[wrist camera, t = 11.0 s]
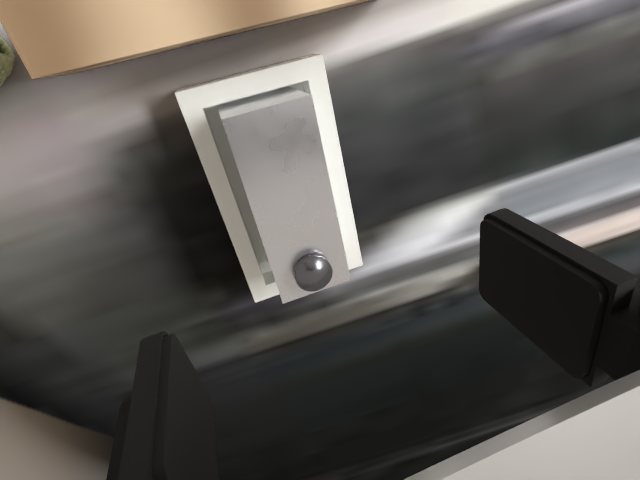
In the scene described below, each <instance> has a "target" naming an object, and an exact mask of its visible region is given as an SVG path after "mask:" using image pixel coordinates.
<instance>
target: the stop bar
mask: <svg viewBox="0 0 640 480" xmlns="http://www.w3.org/2000/svg"><path fill="white" fill-rule="evenodd" d="M217 107H218V110H219V114H220V117H221V120H222V123H223V126H224V129H225V132H226V135H227V138H228V141H229V144H230V147H231V150H232V153H233V156H234V159H235V162H236V165H237V168H238V171H239V174H240V177H241V180H242V183H243V186H244V189H245V192H246V195H247V198H248V201H249V204H250V207H251V210H252V213H253V216H254V219H255V222H256V225H257V228H258V231H259V234H260V237H261V240H262V243H263V246H264V249H265V252H266V255H267V258H268V261H269V264H270V267H271V270H272V273H273V276H274V279H275V282H276V284H277V287H278V290H279V293H280V296H281V299H282V302H283V304H284V303H286V302H289V301H292V300H295V299H298V298H301V297H303V296H306V295H309V294H312V293H315V292H318V291H320V290H323V289H326V288H329V287H332V286H335V285H337V284H340V283H343V282H346V281H349V280H351V278H350V273H349V268H348V264H347V259H346V254H345V250H344V245H343V240H342V235H341V231H340V226H339V221H338V216H337V212H336V207H335V202H334V198H333V193H332V188H331V183H330V179H329V174H328V169H327V164H326V160H325V155H324V150H323V145H322V141H321V136H320V131H319V127H318V122H317V117H316V112H315V108H314V103H313V98H312V95H311V94H308V93H305V92H302V91H300V90H297V89H294V88H291V87H285V88H281V89H278V90H274V91H270V92H266V93H263V94H259V95H255V96H251V97H248V98H244V99H240V100H236V101H233V102H229V103H225V104H221V105H218V106H217Z"/></svg>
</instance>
